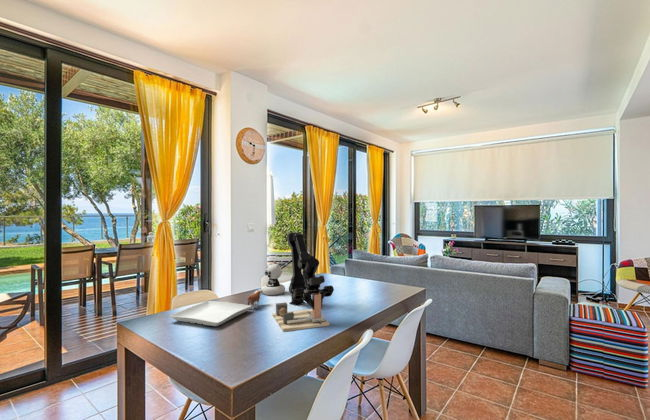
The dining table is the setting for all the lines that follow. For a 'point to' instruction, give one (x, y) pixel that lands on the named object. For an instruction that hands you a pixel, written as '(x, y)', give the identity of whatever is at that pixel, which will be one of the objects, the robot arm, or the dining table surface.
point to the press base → (282, 309)
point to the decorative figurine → (273, 280)
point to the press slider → (314, 317)
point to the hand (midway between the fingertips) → (317, 308)
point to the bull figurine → (254, 298)
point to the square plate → (210, 313)
